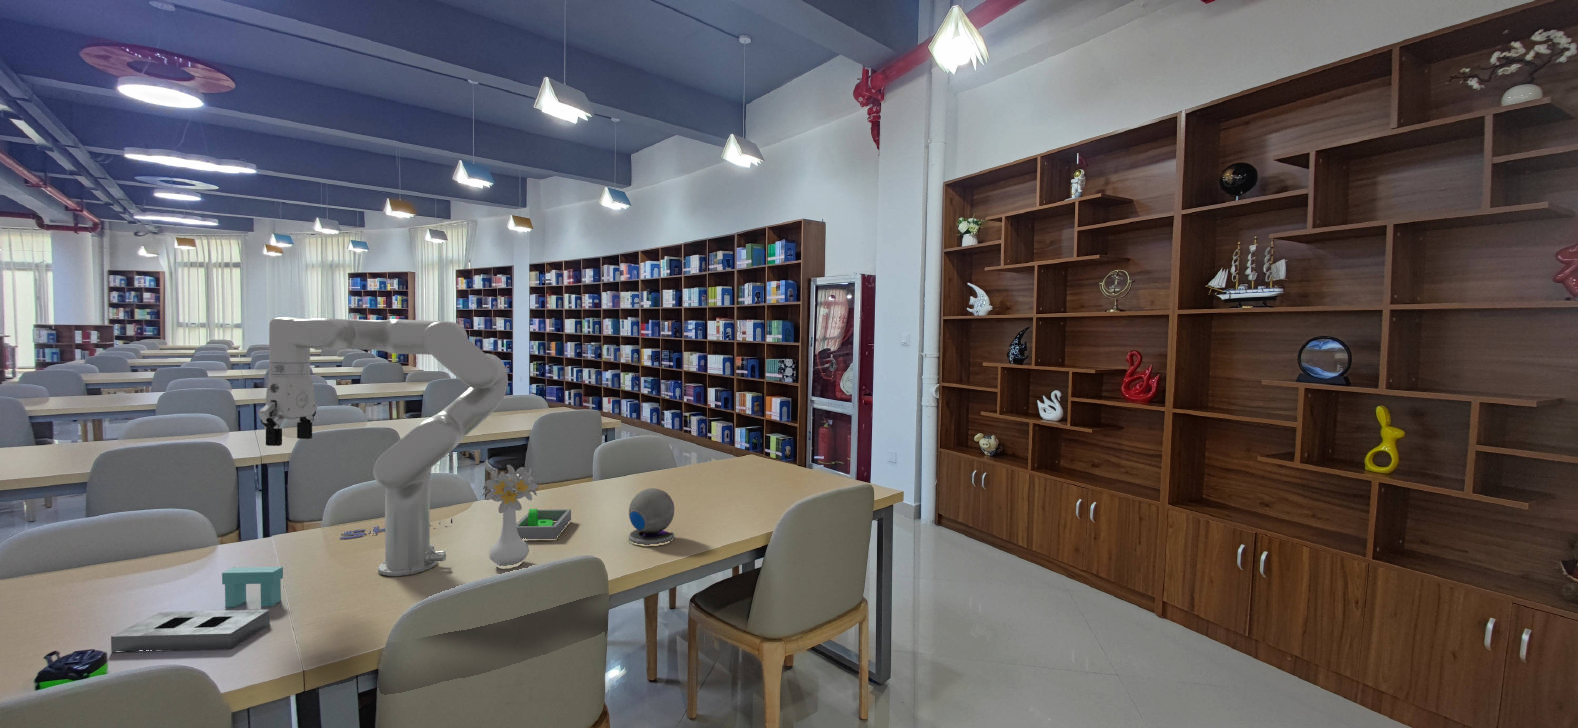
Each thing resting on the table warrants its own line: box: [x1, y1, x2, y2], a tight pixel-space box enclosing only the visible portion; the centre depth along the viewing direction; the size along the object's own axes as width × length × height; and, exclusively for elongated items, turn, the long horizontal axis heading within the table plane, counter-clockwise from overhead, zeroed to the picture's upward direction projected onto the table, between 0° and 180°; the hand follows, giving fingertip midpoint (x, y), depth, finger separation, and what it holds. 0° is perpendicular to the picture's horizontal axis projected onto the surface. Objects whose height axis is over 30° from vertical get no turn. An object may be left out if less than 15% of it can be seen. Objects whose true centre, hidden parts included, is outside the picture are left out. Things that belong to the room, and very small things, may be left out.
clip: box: [221, 566, 284, 608], centre depth 134 cm, size 10×3×8 cm, turn 96°
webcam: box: [628, 487, 675, 545], centre depth 181 cm, size 13×13×15 cm
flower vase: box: [481, 464, 539, 566], centre depth 158 cm, size 13×18×25 cm
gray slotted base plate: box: [110, 609, 271, 653], centre depth 119 cm, size 20×10×3 cm, turn 96°
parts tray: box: [516, 508, 572, 539], centre depth 186 cm, size 12×18×4 cm, turn 6°
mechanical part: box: [527, 508, 554, 526], centre depth 186 cm, size 12×6×8 cm, turn 15°
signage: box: [339, 527, 385, 540], centre depth 186 cm, size 28×1×10 cm
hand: (289, 441), depth 147 cm, fingers open, 9 cm apart
